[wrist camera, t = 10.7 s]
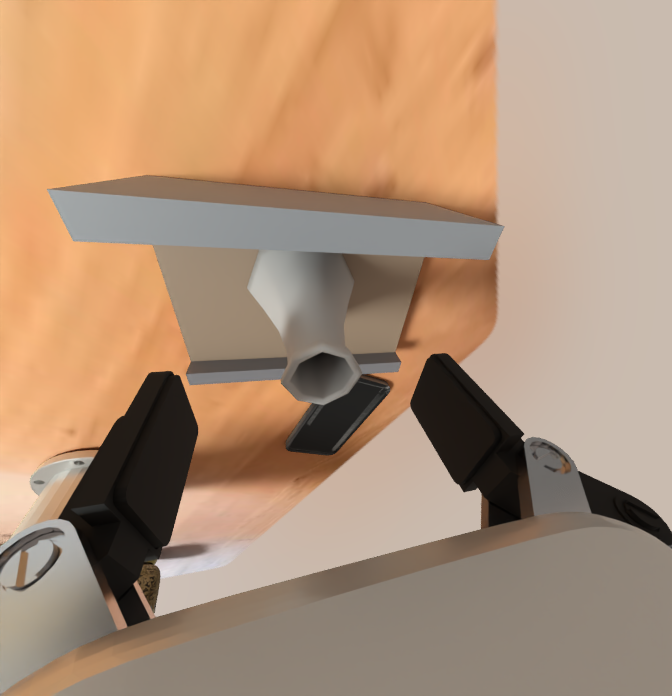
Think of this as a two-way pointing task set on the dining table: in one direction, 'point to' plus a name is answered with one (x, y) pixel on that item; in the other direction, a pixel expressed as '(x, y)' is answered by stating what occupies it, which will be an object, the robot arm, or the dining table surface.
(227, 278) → the wall shelf
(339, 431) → the phone
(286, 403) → the dining table surface
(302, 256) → the flask
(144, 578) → the cup
